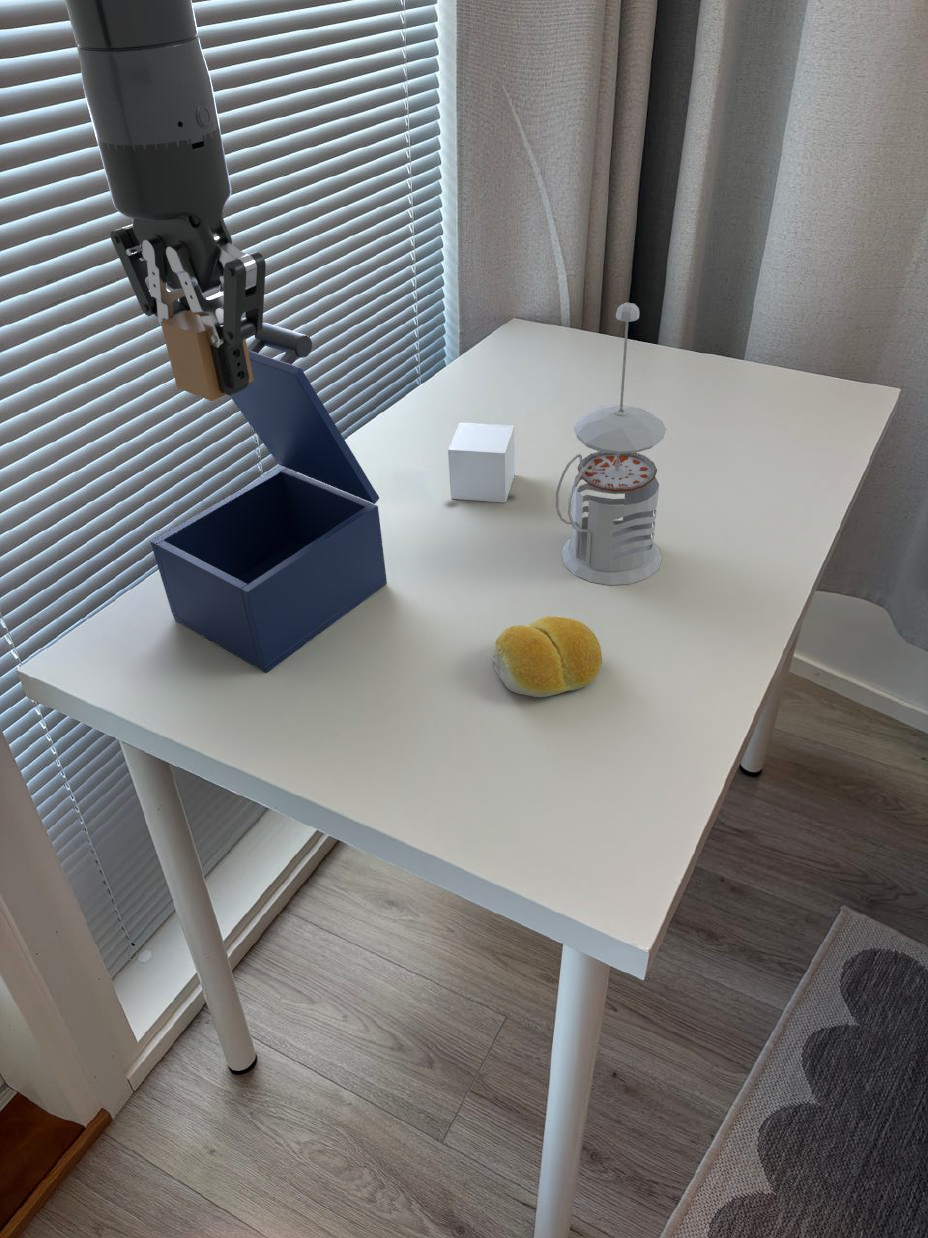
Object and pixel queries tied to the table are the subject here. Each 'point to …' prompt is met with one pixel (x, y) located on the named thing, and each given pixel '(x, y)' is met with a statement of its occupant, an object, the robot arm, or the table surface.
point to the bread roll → (547, 657)
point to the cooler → (272, 565)
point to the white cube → (481, 462)
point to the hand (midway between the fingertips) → (214, 381)
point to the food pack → (194, 355)
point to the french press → (615, 491)
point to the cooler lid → (297, 416)
